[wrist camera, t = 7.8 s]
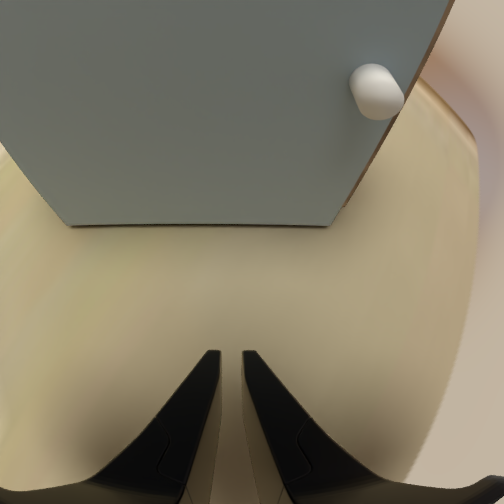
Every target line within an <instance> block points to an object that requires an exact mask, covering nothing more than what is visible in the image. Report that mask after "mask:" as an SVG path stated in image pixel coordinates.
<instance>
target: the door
mask: <svg viewBox="0 0 504 504" xmlns="http://www.w3.org/2000/svg"><path fill="white" fill-rule="evenodd" d="M448 2H449V0H0V142H1V143H2V145H3V146H4V147H5V149H6V150H7V152H8V153H9V154H10V156H11V157H12V159H13V160H14V161H15V163H16V164H17V165H18V167H19V168H20V169H21V171H22V172H23V173H24V175H25V176H26V177H27V179H28V180H29V181H30V182H31V184H32V185H33V186H34V187H35V189H36V190H37V191H38V192H39V194H40V195H41V196H42V197H43V198H44V200H45V201H46V202H47V203H48V204H49V206H50V207H51V208H52V209H53V210H54V212H55V213H56V214H57V215H58V216H59V217H60V218H61V220H62V221H63V222H64V223H65V224H66V225H67V226H69V225H108V224H275V225H316V226H330V225H331V223H332V222H333V220H334V219H335V217H336V215H337V214H338V212H339V210H340V209H341V207H342V205H343V204H344V202H345V200H346V199H347V197H348V195H349V194H350V192H351V190H352V189H353V187H354V185H355V183H356V182H357V180H358V178H359V177H360V175H361V173H362V171H363V170H364V168H365V166H366V164H367V163H368V161H369V159H370V157H371V156H372V154H373V152H374V150H375V149H376V147H377V145H378V143H379V141H380V140H381V138H382V136H383V134H384V132H385V130H386V129H387V127H388V125H389V123H390V121H391V119H392V118H393V116H395V115H396V114H397V113H398V112H399V111H400V110H401V109H402V107H403V105H404V95H405V93H406V91H407V89H408V87H409V85H410V83H411V81H412V79H413V77H414V75H415V73H416V71H417V69H418V67H419V65H420V63H421V61H422V59H423V57H424V55H425V53H426V51H427V49H428V46H429V44H430V42H431V40H432V38H433V36H434V34H435V31H436V29H437V27H438V25H439V23H440V20H441V18H442V16H443V14H444V11H445V9H446V7H447V4H448Z"/></svg>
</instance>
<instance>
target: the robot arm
mask: <svg viewBox="0 0 504 504" xmlns="http://www.w3.org/2000/svg"><path fill="white" fill-rule="evenodd" d="M241 376H242V408H243V419H244V426H245V431H246V436H247V442H248V447H249V452H250V457H251V462H252V467H253V472H254V477H255V482H256V487H257V491H258V496H259V501H260V504H494V503H495V502H496V501H498V500H499V499H500V498H502V497H503V496H504V477H502V476H496V475H489V476H487V477H485V478H483V479H481V480H480V481H478V482H477V483H475V484H473V485H470V486H467V487H463V488H457V489H445V488H435V487H426V486H419V485H411V484H406V483H400V482H394V481H390V480H387V479H384V478H382V477H380V476H378V475H376V474H375V473H373V472H372V471H370V470H369V469H368V468H367V467H365V466H364V465H363V464H361V463H360V462H359V461H358V460H356V459H355V458H354V457H353V456H351V455H350V454H349V453H348V452H347V451H345V450H344V449H343V448H342V447H341V446H339V445H338V444H337V443H336V442H335V441H334V440H333V439H331V438H330V437H329V436H328V435H327V434H326V433H325V432H324V431H323V430H322V428H321V427H320V426H319V425H318V424H317V423H316V422H315V421H314V420H313V418H310V415H309V414H308V413H307V412H306V411H305V409H304V408H303V407H302V406H301V405H300V404H299V402H298V401H297V400H296V399H295V398H294V397H293V395H292V394H291V393H290V392H289V391H288V389H287V388H286V387H285V386H284V385H283V383H282V382H281V381H280V380H279V379H278V377H277V376H276V375H275V374H274V373H273V371H272V370H271V369H270V368H269V367H268V365H267V364H266V363H265V362H264V360H263V359H262V358H261V357H260V355H259V354H258V353H257V352H256V351H255V350H244V351H242V369H241ZM221 416H222V357H221V351H220V350H208V351H207V352H206V353H205V354H204V356H203V357H202V358H201V359H200V361H199V362H198V363H197V364H196V366H195V367H194V368H193V370H192V371H191V372H190V373H189V375H188V376H187V377H186V378H185V380H184V381H183V382H182V383H181V385H180V386H179V387H178V388H177V390H176V391H175V392H174V393H173V395H172V396H171V397H170V398H169V400H168V401H167V402H166V403H165V405H164V406H163V407H162V408H161V410H160V411H159V412H158V413H157V414H156V417H154V418H153V419H152V420H151V422H150V423H149V424H148V425H147V426H146V428H145V429H144V430H143V431H142V432H141V433H140V434H139V435H138V437H137V438H135V439H134V440H133V441H132V442H131V443H130V444H129V445H128V446H127V447H126V448H125V449H124V450H123V451H122V452H120V453H119V454H118V455H117V456H116V457H115V458H114V459H113V460H111V461H110V462H109V463H108V464H107V465H106V466H105V467H103V468H102V469H101V470H100V471H99V472H97V473H96V474H95V475H93V476H92V477H90V478H88V479H86V480H84V481H81V482H78V483H73V484H68V485H63V486H58V487H52V488H46V489H39V490H31V491H11V490H7V489H3V488H1V487H0V504H209V502H210V495H211V487H212V480H213V473H214V466H215V459H216V452H217V445H218V438H219V432H220V425H221Z"/></svg>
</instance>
